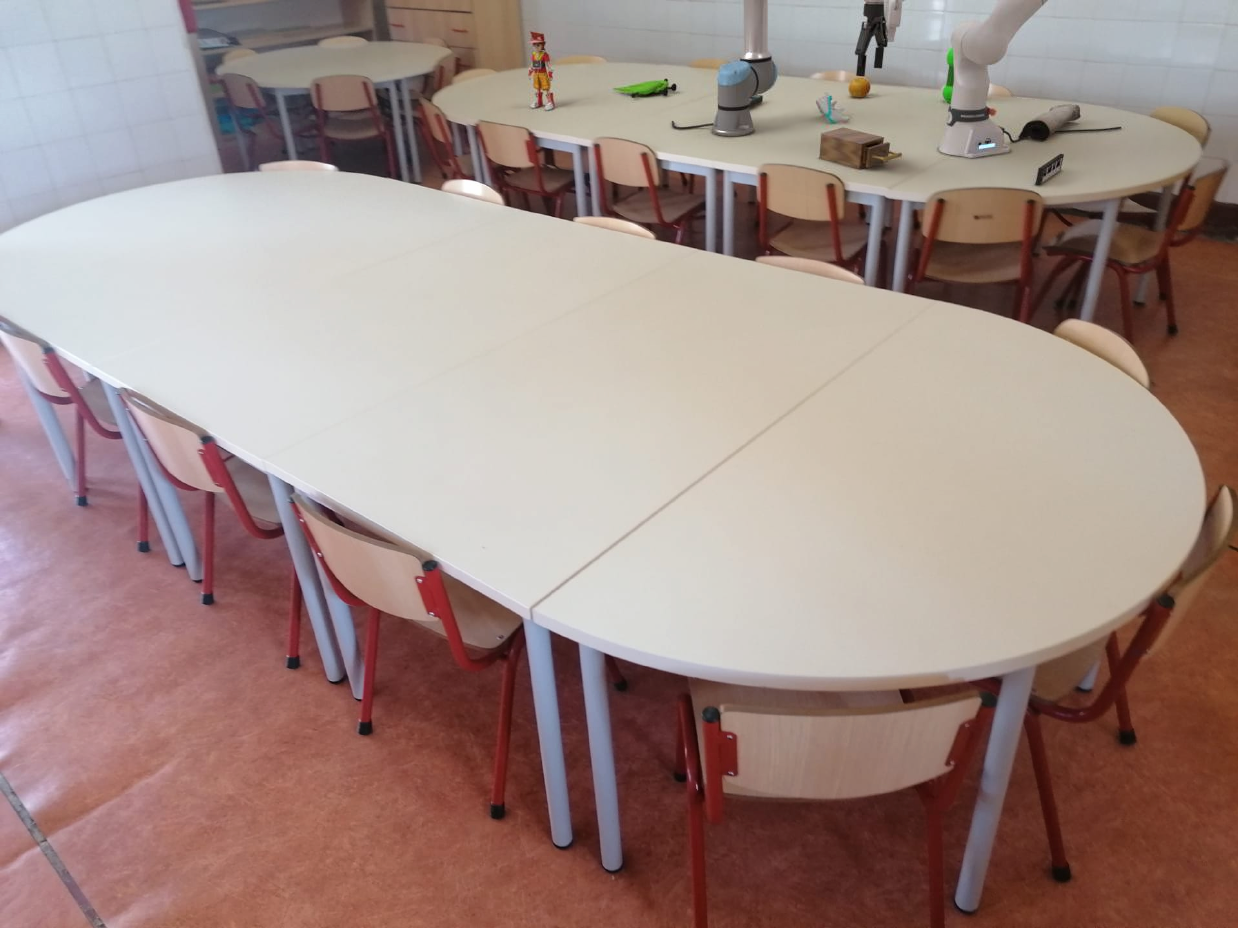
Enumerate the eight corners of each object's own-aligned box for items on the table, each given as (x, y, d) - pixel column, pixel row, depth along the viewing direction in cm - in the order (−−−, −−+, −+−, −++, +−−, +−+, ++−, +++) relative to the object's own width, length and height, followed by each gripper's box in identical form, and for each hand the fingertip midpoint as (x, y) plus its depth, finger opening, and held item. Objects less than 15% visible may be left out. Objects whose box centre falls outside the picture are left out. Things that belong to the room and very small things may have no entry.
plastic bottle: (973, 101, 354) (984, 32, 339) (955, 106, 349) (966, 36, 335) (952, 97, 361) (962, 29, 346) (934, 102, 356) (944, 33, 342)
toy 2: (686, 85, 398) (631, 84, 414) (685, 72, 395) (629, 72, 411) (651, 104, 381) (596, 103, 397) (650, 92, 378) (594, 91, 394)
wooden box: (881, 162, 296) (884, 137, 292) (859, 169, 291) (861, 144, 287) (840, 151, 308) (843, 127, 304) (819, 158, 304) (821, 133, 299)
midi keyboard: (1039, 185, 269) (1043, 168, 266) (1035, 184, 270) (1038, 168, 267) (1060, 170, 279) (1064, 154, 277) (1056, 169, 280) (1060, 153, 277)
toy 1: (525, 109, 381) (517, 32, 364) (534, 104, 388) (527, 28, 371) (550, 110, 377) (543, 32, 360) (559, 105, 384) (553, 28, 367)
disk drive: (747, 111, 360) (763, 102, 370) (747, 104, 359) (763, 95, 369) (724, 109, 365) (740, 100, 375) (724, 101, 363) (740, 93, 373)
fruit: (843, 89, 366) (855, 71, 363) (846, 93, 374) (858, 75, 371) (860, 101, 365) (872, 82, 362) (862, 104, 373) (874, 86, 369)
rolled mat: (1047, 109, 327) (1072, 92, 319) (1061, 130, 327) (1086, 113, 319) (1014, 132, 309) (1039, 114, 301) (1028, 154, 310) (1054, 137, 302)
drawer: (902, 165, 289) (904, 146, 286) (882, 172, 285) (885, 152, 281) (849, 151, 304) (851, 133, 301) (830, 157, 300) (832, 138, 297)
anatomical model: (811, 92, 345) (837, 85, 344) (814, 119, 351) (839, 112, 350) (821, 101, 332) (848, 94, 332) (824, 129, 338) (850, 122, 337)
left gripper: (870, 9, 282) (863, 80, 294) (902, -3, 298) (895, 65, 310) (848, 8, 286) (842, 78, 298) (881, -4, 302) (874, 64, 314)
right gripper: (908, -7, 259) (902, 45, 267) (904, -17, 275) (898, 32, 283) (886, -7, 260) (880, 45, 268) (882, -16, 277) (877, 33, 284)
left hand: (869, 72), depth 304 cm, fingers open, 13 cm apart
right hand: (889, 38), depth 276 cm, fingers open, 8 cm apart
